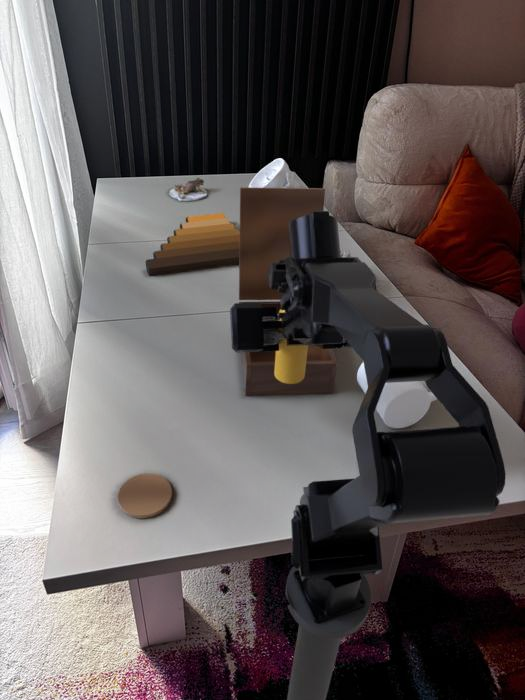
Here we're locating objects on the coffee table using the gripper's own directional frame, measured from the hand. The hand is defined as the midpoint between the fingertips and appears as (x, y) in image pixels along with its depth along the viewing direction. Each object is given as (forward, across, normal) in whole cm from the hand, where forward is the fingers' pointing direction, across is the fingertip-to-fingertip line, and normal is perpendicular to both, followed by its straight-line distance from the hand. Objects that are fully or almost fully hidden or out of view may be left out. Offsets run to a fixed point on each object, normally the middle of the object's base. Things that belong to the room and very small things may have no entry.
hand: (290, 337), depth 81 cm
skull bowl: (+76, -13, -57) cm, 95 cm away
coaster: (-2, +21, +21) cm, 30 cm away
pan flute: (+52, +14, -33) cm, 63 cm away
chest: (+18, -2, 0) cm, 19 cm away
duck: (+3, 0, +5) cm, 6 cm away
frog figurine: (+78, +13, -59) cm, 99 cm away
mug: (+9, -19, +11) cm, 23 cm away
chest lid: (+15, -2, -19) cm, 24 cm away
